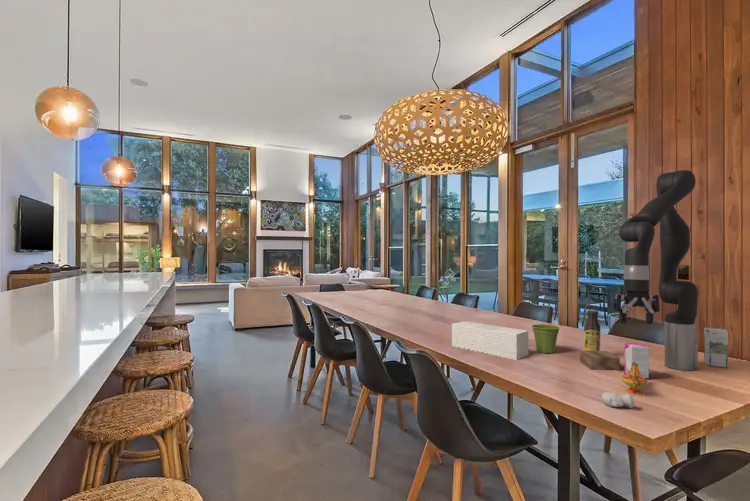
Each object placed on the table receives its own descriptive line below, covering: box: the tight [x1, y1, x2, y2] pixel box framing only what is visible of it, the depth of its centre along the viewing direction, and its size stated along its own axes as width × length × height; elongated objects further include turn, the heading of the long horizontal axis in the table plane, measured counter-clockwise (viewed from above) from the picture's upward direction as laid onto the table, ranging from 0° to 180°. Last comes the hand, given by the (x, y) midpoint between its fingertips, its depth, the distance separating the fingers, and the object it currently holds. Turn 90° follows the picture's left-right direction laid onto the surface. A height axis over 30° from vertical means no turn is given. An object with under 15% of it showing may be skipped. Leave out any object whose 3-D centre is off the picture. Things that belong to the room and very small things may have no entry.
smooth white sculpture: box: [601, 391, 635, 409], centre depth 112 cm, size 4×8×5 cm
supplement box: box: [623, 342, 650, 381], centre depth 139 cm, size 6×6×12 cm
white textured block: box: [451, 320, 529, 361], centre depth 175 cm, size 32×11×11 cm, turn 43°
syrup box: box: [703, 326, 729, 369], centre depth 152 cm, size 6×6×14 cm
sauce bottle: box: [582, 309, 601, 351], centre depth 164 cm, size 6×6×20 cm
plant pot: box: [530, 323, 561, 354], centre depth 173 cm, size 12×12×11 cm
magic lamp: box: [621, 362, 648, 396], centre depth 125 cm, size 7×18×11 cm, turn 145°
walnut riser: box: [579, 350, 621, 372], centre depth 151 cm, size 10×10×5 cm
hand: (636, 323), depth 139 cm, fingers open, 8 cm apart
